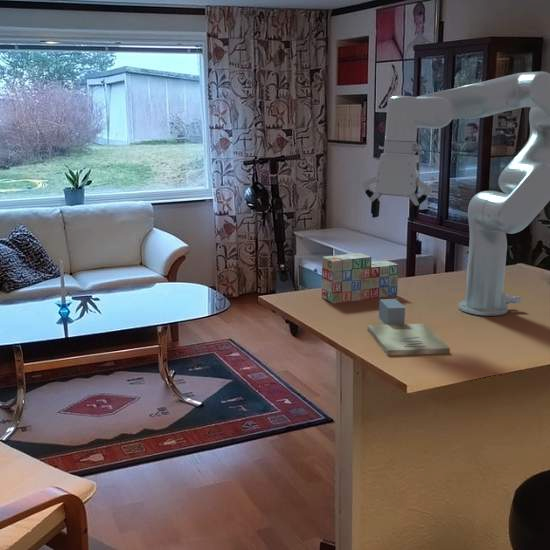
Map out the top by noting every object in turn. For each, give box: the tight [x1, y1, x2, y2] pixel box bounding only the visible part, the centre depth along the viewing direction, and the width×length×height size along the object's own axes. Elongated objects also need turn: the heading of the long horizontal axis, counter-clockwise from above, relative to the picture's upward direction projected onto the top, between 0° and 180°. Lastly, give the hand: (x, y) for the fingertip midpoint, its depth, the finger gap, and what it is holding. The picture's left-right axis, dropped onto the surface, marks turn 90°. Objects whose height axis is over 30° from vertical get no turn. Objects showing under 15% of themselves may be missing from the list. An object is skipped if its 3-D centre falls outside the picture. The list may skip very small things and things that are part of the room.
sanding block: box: [378, 298, 406, 325], centre depth 175 cm, size 4×8×6 cm, turn 7°
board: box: [367, 323, 451, 357], centre depth 163 cm, size 14×18×1 cm
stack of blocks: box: [321, 252, 399, 304], centre depth 199 cm, size 21×6×12 cm, turn 114°
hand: (394, 219), depth 174 cm, fingers open, 9 cm apart
